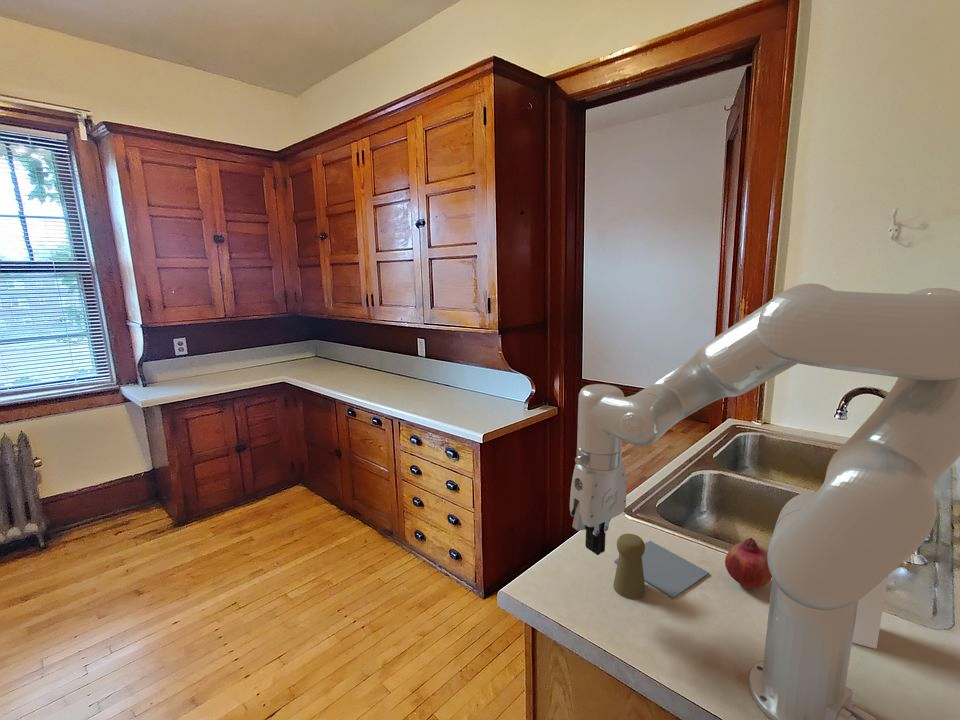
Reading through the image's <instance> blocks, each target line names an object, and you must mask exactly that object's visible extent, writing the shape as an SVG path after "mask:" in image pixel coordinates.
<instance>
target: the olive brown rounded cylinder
mask: <svg viewBox="0 0 960 720" xmlns="http://www.w3.org/2000/svg"><path fill="white" fill-rule="evenodd" d="M616 550H617V552H618V557H617V559H618V563H617V564H616V569H615V574H614V579H613V589H614V591H615V593H616V594H617V595H619V596H621V597H622V598H625V599H628V600H629V599H630V600H637V599H641V598H642V597H644V596H645V595H646V585H645V584H646V582H644V573H643V564H642V556H643V554H644V551H645V542H644V539H642V537H640V536H639V535H637V534H634V533H623V534H621V535H620V536H619V537H618V538H617V540H616Z"/></svg>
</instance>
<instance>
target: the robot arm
mask: <svg viewBox="0 0 960 720" xmlns="http://www.w3.org/2000/svg"><path fill="white" fill-rule="evenodd" d="M798 364H799V365H805V366H808V367H809V366H811V367H816V368H823V369H830V370H836V371H844V372H845V371H846V372H852V373H861V374H870V375H877V376H885V377H894V378H897V379H896V382H895V383H894V385H893V386H892V388H891V390H890V391H889V392H888V394H887V395H886V396H885V397H884V398H883V399H882V400H881V402H880V404H879V405H878V406H877V407H876V408H875V410H874V411H873V412H872V414H870V416H869V417H868V418H867V419H866V420H865V421H864V422H863V423H862V424H861V426H860V427H858V429H857V430H856V432H855V433H854V434H853V435H852V436H851V437H850V438H849V439H847V440H846V442H845V443H844V444H843V445H842V446H841V447H839V449H837V451H835V452H834V454H833V455H832V456H831V458H830V461H829V463H828V465H827V468H826V474H825V478H824V482H823V483H822V485H821V487H820V488H819V489H818V490H817V491H808V492H804V493H800V494H797V495H795V496H794V497H792V498H791V499H790V500H788V501H787V502H786V503H785V505H784V506H783V508H781V511H780V512H779V514H778V518H777V520H776V523H775V526H774V529H773V533H772V536H771V539H770V542H769V545H768V549H767V561H768V567H769V571H770V573H771V576H772V578H771V587H770V596H769V606H768V607H769V608H768V615H767V625H766V626H767V627H766V633H765V634H766V635H765V644H764V645H765V646H764V655H763V660H762V661H759V662H757V663H756V664H755V665H754V666H753V667H752V668H751V671H750V672H749V680H748V683H749V690H750V693H751V696H752V697H753V699H754V701H755V703H756V704H757V705H758V706H759V708H760V709H761V710H762V711H763V712H764V713H765V715H766V716H767V717H768V718H769V719H771V720H877V718H876V717H874V716H873V715H871V714H870V713H868V712H867V711H864V710H862V709H860V708H858V707H857V706H856V703H854V702H853V701H852V698H853V692H854V691H853V689H852V688H850V687H848V686H847V680H848V671H849V664H850V658H851V651H852V644H853V643H852V639H853V632H854V626H855V621H856V614H857V607H858V600H860V599H861V598H863V597H864V596H865V595H866V594H868V593H869V592H870V591H871V590H872V589H873V588H874V587H876V586H877V585H878V584H879V583H880V582H881V581H882V580H884V579H885V578H886V577H887V576H888V577H889V576H890V574H892V572H894V571H895V570H896V569H897V568H898V567H899V566H901V564H903V563H904V562H905V561H906V560H907V559H909V558H910V557H911V556H912V554H914V553H915V552H916V551H917V550H918V549H919V548H920V547H921V546H922V545H923V544H924V542H925V541H926V540H927V538H928V536H929V535H930V534H931V533H932V530H933V528H934V525H935V523H936V519H937V512H938V511H937V508H938V506H937V505H938V504H937V500H936V495H935V485H936V484H937V482H938V480H939V479H940V478H941V477H942V476H943V475H944V474H945V472H946V471H947V470H948V469H950V467H951V466H952V465H954V463H955V462H956V461H957V460H958V459H959V458H960V291H959V290H956V289H952V288H945V287H932V288H930V287H928V288H923V289H919V290H916V291H912V292H910V293H890V292H889V293H887V292H885V293H884V292H866V291H864V292H862V291H846V290H835V289H833V288H830V287H828V286H826V285H823V284H820V283H819V284H818V283H802V284H797V285H794V286H791V287H790V288H789V287H788V289H786V290H783V291H781V292H780V293H778V294H776V295H775V296H773V297H772V298H771V299H770V300H769V301H768V302H766V303H765V304H763V305H762V306H760V307H758V308H757V309H756V310H753V312H752V313H749V314H748V315H747V316H746V317H744V318H742V319H741V320H739V321H738V322H736V323H735V324H732V326H730V327H729V328H727V329H725V330H724V331H722V332H721V333H719V334H718V335H717V336H715V337H714V338H712V339H710V340H708V341H707V342H706V343H704V344H702V346H701V347H699V348H698V349H697V351H696V352H695V354H694V355H692V357H691V358H689V359H688V360H686V361H685V362H684V363H682V364H681V365H679V366H678V367H677V368H675V369H674V370H672V371H670V372H669V373H667V374H666V375H664V376H663V377H661V378H660V379H658V380H656V381H655V382H653V383H652V384H650V385H649V386H647V387H645V388H644V389H642V390H640V391H638V392H636V393H635V394H633V395H630V396H625V394H624V392H623V390H622V389H620V388H619V387H617V386H614V385H610V384H605V383H603V384H601V383H596V384H594V383H593V384H588V385H585V386H583V387H582V388H581V389H580V391H579V393H578V405H577V407H578V408H577V436H576V437H577V441H576V443H577V444H576V457H574V462H575V464H574V469H573V473H572V477H571V478H572V479H571V486H570V492H569V493H570V497H569V512H570V517H572V518H573V519H572V520H573V521H572V525H571V526H572V528H573V529H575V530H576V531H580V532H581V531H585V542H584V543H585V548H586V549H587V550H589V551H591V552H592V553H593V554H595V555H597V556H599V555H601V554H602V553H605V551H606V535H607V534H606V532H607V531H608V530H609V527H610V522H611V520H612V519H613V518H616V517H618V516H619V515H621V514H623V513H624V512H625V511H626V506H627V478H626V469H625V463H624V461H623V460H622V456H623V455H622V454H623V451H622V450H623V442H625V443H627V444H631V445H634V446H639V447H645V446H649V445H652V444H654V443H655V442H657V441H658V440H659V439H660V438H662V437H663V436H664V435H665V434H666V433H667V431H668V430H670V429H671V428H673V427H674V425H676V424H678V423H680V422H681V421H682V420H683V419H686V418H687V417H689V416H691V415H693V414H694V413H696V412H697V411H699V410H701V409H702V408H704V407H706V406H709V405H710V404H712V403H713V402H717V401H719V400H721V399H724V398H728V397H729V398H731V397H733V398H735V397H739V396H741V395H744V394H746V393H748V392H750V391H753V390H754V389H755V388H757V387H759V386H761V385H762V384H764V383H766V382H767V381H769V380H771V379H772V378H775V377H776V376H778V375H780V374H782V373H783V372H785V371H787V370H789V369H791V368H793V367H794V366H797V365H798Z"/></svg>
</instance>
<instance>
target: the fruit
mask: <svg viewBox="0 0 960 720" xmlns="http://www.w3.org/2000/svg"><path fill="white" fill-rule="evenodd" d="M767 555H768V552H766V551H765V550H764V549H763V548H761V547H760V546H759V545H758V543H757V541H756V539H753V538H752V537H748V538H746V539H745V540H744V541H743V542H739V543H736V544H734V545H733V546H732V547H730V548H729V550H728V552H727V554H726V556H725V559H724V566H725V568H726V570H727V572H728V574H729V577H731V578H732V579H733V580H735V582H736V583H738V584H739V585H741V587H743V588H745V589H746V588H747V589H748V590H755V589H761V588H763V587H765V586H767V584H768V583H769V582H771V581H772V576H771V573H770V571H769V567H768V561H767Z"/></svg>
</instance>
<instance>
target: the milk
mask: <svg viewBox="0 0 960 720" xmlns="http://www.w3.org/2000/svg"><path fill="white" fill-rule="evenodd" d="M888 579H889V575H888V576H887V577H886V578H885V579H884V580H882V581H881V582H880V583H879V584H878V585H877V586H876V587H874V588H873V589H872V590H871V591H870V592H869V593H868V594H866V595H865V596H864V597H863V598H861V599H860V600H858V607H857V614H856V621H855V626H854V632H853V639H852V644H856V645H860V646H862V647H863V646H864V647H867V648H870V649H875V650H877V648H878V642H879V636H880V635H879V634H880V631H881V630H880V629H881V625H882V617H883V611H884V604H885V598H886V592H887V585H888Z"/></svg>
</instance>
